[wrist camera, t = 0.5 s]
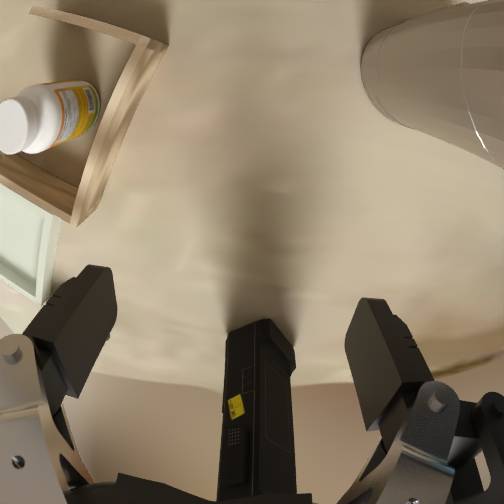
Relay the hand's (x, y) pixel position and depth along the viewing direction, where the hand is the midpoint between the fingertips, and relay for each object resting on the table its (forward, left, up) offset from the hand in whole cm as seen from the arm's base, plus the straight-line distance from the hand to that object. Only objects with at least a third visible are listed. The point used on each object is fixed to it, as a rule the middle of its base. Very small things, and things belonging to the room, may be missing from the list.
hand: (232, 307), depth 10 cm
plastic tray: (+19, -22, -18) cm, 34 cm away
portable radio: (+17, +11, -19) cm, 28 cm away
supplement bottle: (+2, -17, -19) cm, 25 cm away
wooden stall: (+2, -18, -18) cm, 26 cm away
